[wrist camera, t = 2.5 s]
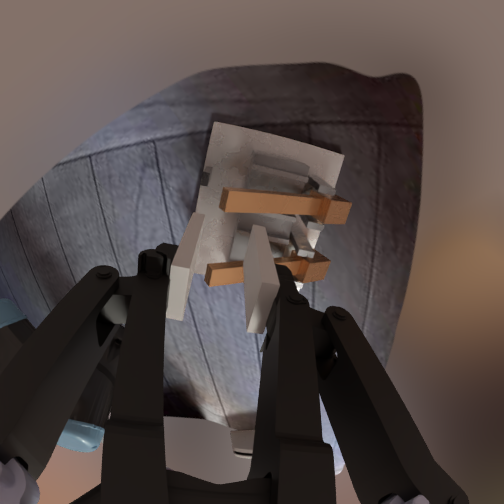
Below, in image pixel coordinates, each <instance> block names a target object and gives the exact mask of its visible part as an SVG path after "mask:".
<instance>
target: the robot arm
mask: <svg viewBox="0 0 504 504" xmlns="http://www.w3.org/2000/svg"><path fill="white" fill-rule="evenodd" d="M204 219H205V214H199V213H194V212H193V214H192V216H191V218H190V221H189V223H188V225H187V228H186V230H185V232H184V235H183V237H182V239H181V242H180V244H179V246H177V245H172V244H167V243H162V244H160V245H159V246H157V248H156V249H148V250H144V251H142V252H140V254H139V256H138V273H137V275H136V276H132V277H119V272H118V270H117V269H116V268H113V267H111V266H107V265H101V266H97V267H94V268H92V269H91V270H90V271H89V272H88V273H87V274H86V275H85V276H84V277H83V278H82V279H81V280H80V281H79V282H78V283H77V284H76V285H75V286H74V287H73V288H72V289H71V290H70V292H69V293H68V294H67V295H66V296H65V297H64V298H63V299H62V300H61V301H60V302H59V303H58V305H57V306H56V307H55V308H54V309H53V310H52V311H51V312H50V314H49V315H48V316H47V317H46V318H45V319H44V320H43V322H42V323H41V324H40V325H39V326H38V327H37V329H36V328H35V327H34V326H33V325H32V324H31V323H30V322H29V320H28V319H27V316H26V315H24V314H23V313H22V312H21V311H20V310H19V309H18V308H17V307H16V306H15V304H14V303H13V302H12V301H11V300H9V299H5V298H4V299H0V504H37V503H38V501H39V496H40V492H39V487H38V485H37V483H36V480H37V479H38V478H39V476H40V475H41V473H42V472H43V470H44V469H45V467H46V465H47V463H48V461H49V459H50V457H51V455H52V453H53V451H54V449H55V446H56V444H57V445H59V446H61V447H64V448H67V449H70V450H74V451H79V452H92V451H94V450H96V449H97V448H98V447H99V445H100V442H101V440H102V437H103V435H104V441H103V454H102V473H101V483H100V484H99V485H98V486H96V487H95V488H93V489H91V490H90V491H89V492H87V493H85V494H84V495H82V496H81V497H79V498H78V499H76V500H74V501H73V502H71V503H69V504H336V487H335V470H334V456H333V450H332V447H331V445H330V444H328V443H324V441H323V438H322V425H321V411H320V399H319V394H320V396H321V399H322V402H323V404H324V407H325V410H326V412H327V415H328V418H329V421H330V423H331V426H332V429H333V431H334V434H335V437H336V440H337V442H338V445H339V448H340V451H341V453H342V456H343V459H344V462H345V464H346V467H347V470H348V472H349V475H350V478H351V481H352V484H353V487H354V489H355V492H356V494H357V497H358V499H359V501H360V503H361V504H469V500H468V497H467V495H466V494H465V492H464V491H463V490H462V489H461V488H460V487H459V486H458V485H457V484H456V483H455V481H454V480H452V479H451V477H450V476H449V475H448V474H447V473H446V472H445V471H444V470H443V469H442V468H441V467H440V466H439V465H438V464H437V463H436V462H435V461H434V459H433V457H432V455H431V453H430V451H429V449H428V447H427V445H426V443H425V441H424V439H423V437H422V436H421V434H420V432H419V430H418V428H417V426H416V424H415V423H414V421H413V419H412V417H411V415H410V413H409V411H408V410H407V408H406V406H405V404H404V402H403V401H402V399H401V397H400V395H399V394H398V392H397V390H396V388H395V387H394V385H393V383H392V382H391V380H390V378H389V376H388V374H387V373H386V371H385V369H384V368H383V366H382V364H381V363H380V361H379V359H378V358H377V356H376V354H375V353H374V351H373V349H372V348H371V346H370V344H369V343H368V341H367V339H366V338H365V336H364V335H363V333H362V331H361V330H360V328H359V326H358V325H357V323H356V322H355V320H354V318H353V317H352V315H351V314H350V313H349V312H348V311H346V310H345V309H343V308H341V307H336V306H330V307H328V308H327V309H326V311H325V313H323V312H320V311H317V310H315V309H312V308H310V307H309V302H308V300H307V299H306V298H305V297H304V296H303V295H301V294H299V292H298V289H297V286H296V283H295V280H294V278H293V275H292V272H291V270H290V269H289V268H288V267H287V266H285V265H280V264H275V263H274V259H273V255H272V252H271V248H270V244H269V240H268V236H267V232H266V228H265V227H263V226H259V225H254V224H253V227H252V230H251V234H250V238H249V242H248V246H247V250H246V254H245V258H244V261H243V272H244V291H245V309H246V327H247V332H252V333H259V334H263V332H264V330H265V327H267V334H266V337H265V339H264V342H263V345H262V347H261V350H260V352H263V357H262V368H261V378H260V388H259V397H258V407H257V416H256V425H255V434H254V443H253V451H252V460H251V468H250V472H249V475H248V477H247V480H244V481H239V482H233V483H227V484H214V483H211V482H207V481H204V480H201V479H198V478H196V477H192V476H190V475H187V474H184V473H182V472H177V471H171V470H166V461H165V445H164V444H165V443H164V425H163V424H164V423H163V367H164V337H165V318H170V319H175V320H181V321H182V320H183V316H184V311H185V307H186V303H187V298H188V294H189V290H190V286H191V281H192V277H193V273H194V269H195V265H196V261H197V257H198V252H199V247H200V241H201V236H202V230H203V225H204ZM120 324H125V328H122V327H121V326H120ZM336 352H337V356H336V354H335V353H336ZM111 406H112V408H111ZM110 410H111V416H110V419H109V420H108V417H109V413H110Z"/></svg>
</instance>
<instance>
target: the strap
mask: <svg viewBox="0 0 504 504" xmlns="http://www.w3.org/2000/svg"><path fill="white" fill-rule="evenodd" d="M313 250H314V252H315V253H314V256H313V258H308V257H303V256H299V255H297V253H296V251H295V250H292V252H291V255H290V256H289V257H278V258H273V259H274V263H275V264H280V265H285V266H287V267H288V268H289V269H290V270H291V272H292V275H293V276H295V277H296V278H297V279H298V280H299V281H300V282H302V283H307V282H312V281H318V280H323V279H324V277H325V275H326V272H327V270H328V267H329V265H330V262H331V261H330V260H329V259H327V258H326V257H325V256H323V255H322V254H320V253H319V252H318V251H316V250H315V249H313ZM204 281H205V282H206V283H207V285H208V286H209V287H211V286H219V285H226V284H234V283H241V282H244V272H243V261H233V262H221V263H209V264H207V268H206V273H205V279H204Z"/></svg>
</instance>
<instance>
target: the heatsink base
mask: <svg viewBox="0 0 504 504" xmlns="http://www.w3.org/2000/svg"><path fill="white" fill-rule="evenodd" d="M343 159H344V155H342V154H339V153H336V152H333V151H330V150H326V149H323V148H320V147H317V146H313V145H310V144H307V143H303V142H300V141H296V140H293V139H289V138H285V137H282V136H278V135H274V134H270V133H266V132H262V131H258V130H253V129H249V128H244V127H240V126H235V125H230V124H225V123H220V122H215V121H214V124H213V129H212V133H211V137H210V142H209V146H208V151H207V156H206V160H205V165H204V170H203V175H202V180H201V185H200V190H199V196H198V201H197V206H196V212H195V213H199V214H205V219H204V225H203V230H202V236H201V241H200V247H199V252H198V257H197V261H196V265H195V269H194V273H197V274H203V275H205V273H206V268H207V264H209V263H221V262H233V261H244V258H245V254H246V250H247V246H248V242H249V238H250V234H251V230H252V227H253V224H254V225H259V226H263V227H265V228H266V232H267V236H268V240H269V244H270V248H271V252H272V255H273V258H278V257H289V256H290V255H291V252H292V250H295V251H296V253H297V255H299V256H303V257H308V258H313V256H314V253H315V252H314V250H313V249H314V248H315V245H316V242H317V239H318V236H319V233H320V231H323V228H324V224H323V223H322V222H321V221H319V220H317V219H316V218H314V217H312V216H311V215H298V214H272V213H237V212H224V211H222V210H221V209H220V208H219V203H220V199H221V194H222V189H223V187H232V188H245V189H257V190H268V191H278V192H288V193H297V194H306V195H310V192H311V190H315V191H318V192H321V193H325V194H328V195H332V196H334V195H335V192H336V189H335V185H336V182H337V179H338V175H339V172H340V169H341V166H342V162H343ZM293 278H294V280H295V283H296V286H297V289H298V291H299V289H300V288H302V286H303V283H302V282H300V281H299V280H298V279H297V278H296V277H295V276H293Z"/></svg>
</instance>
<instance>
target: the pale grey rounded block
mask: <svg viewBox="0 0 504 504" xmlns="http://www.w3.org/2000/svg"><path fill="white" fill-rule="evenodd" d="M254 434H255V430H242V431H238V430H236V431H231V440H232V447H233V452H234V454H235V456H237V457H241V458H247V459H252V451H253V443H254Z"/></svg>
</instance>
